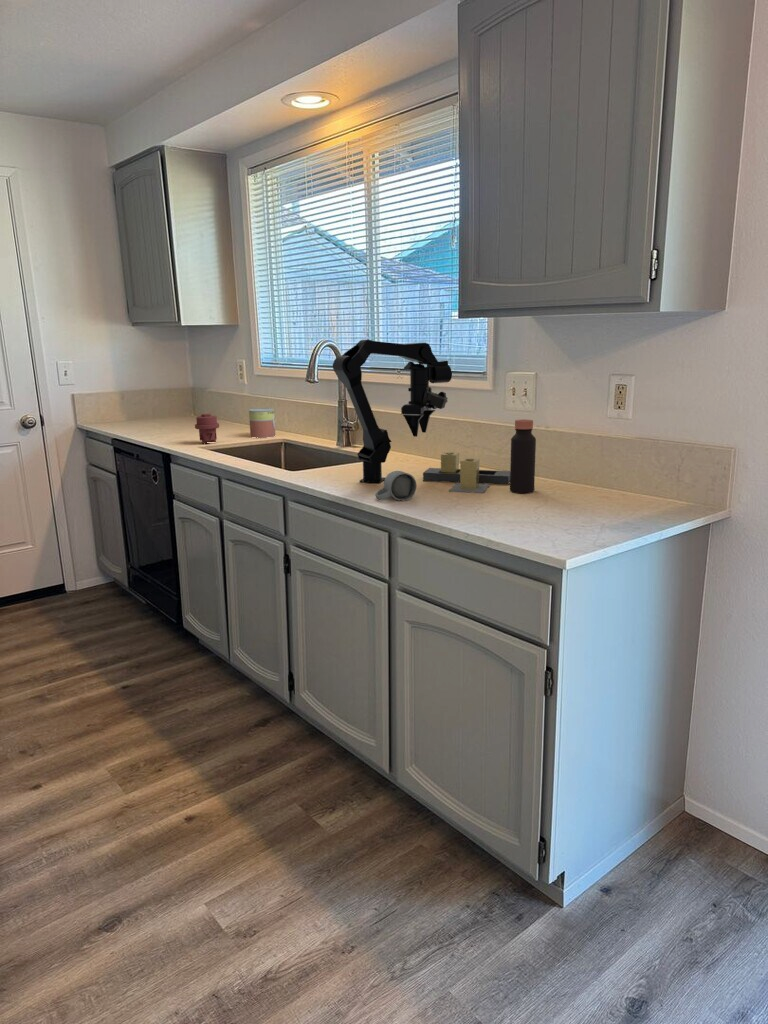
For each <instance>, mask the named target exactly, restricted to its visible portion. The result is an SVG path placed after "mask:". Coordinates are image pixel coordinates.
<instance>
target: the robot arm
mask: <svg viewBox="0 0 768 1024" xmlns="http://www.w3.org/2000/svg"><path fill="white" fill-rule="evenodd" d="M432 351H433V350H432V347H431V346H430V344H429V343H428V342H408V343H407V342H406V343H396V342H394V343H393V342H386V341H376V340H371V339H361V340H359V341H358V342H357V343H356V344H355V345H354V346H352V347H351V348H349V349H347V351H345V352H344V353H342V355H338V356H337V357H335V359H334V361H333V363H332V370H333V372H334V373H335V375H336V377H337V378H338V380H339V381H340V383H342V384H343V386H344V387H345V388H346V390H347V392H348V395H349V397H350V400H351V403H352V405H353V408H354V410H355V413H356V415H357V419H358V421H359V423H360V426H361V429H362V442H363V445H362V448H360V450H359V451H358V453H357V457H358V459H359V461H362V478H361V479H359V483H368V484H372V483H373V484H380V483H382V482H383V481H385V478H386V477H383V476H382V471H383V470H382V466H383V465H382V464H383V463H386V461H387V458H388V456H389V455H388V454H389V453H390V450H391V448H392V446H391V443H392V442H393V441H392V440H391V439H390V437H389V433H388V430H387V429H384V428H380V427H379V425H378V423H377V420H376V418H375V414H374V413H373V410H372V407H371V404H370V401H369V400H368V397H367V395H366V392H365V389H364V386H363V383H362V380H363V379H362V378H363V377H362V375H363V372H362V366H363V365H365V363H366V362H367V360H368V358H369V356H371V354H373V355H382V356H383V355H384V356H392V357H399V358H402V359H404V360H407V361H408V362H407V364H406V365H404V367H403V369H404V370H406V371H407V370H410V371H409V372H410V373H409V383H410V386H409V387H408V389H407V390H408V392H409V395H410V397H409V399H410V400H409V401H408V403H406V404H404V405H402V406H401V409H400V410H401V412H400V413H401V415H402V416H403V418H404V419H405V421H406V423H407V426H408V427H409V430H410V432H411V434H412V436H413V437H418V435H419V434H418V433H419V427H420V431H421V432H422V433H423V434H425V433H427V429H428V425H429V421H430V416H432V414H433V413H435V412H436V410H437V409H439V410H441V409H444V408H445V407H446V404H447V403H448V397H447V393H446V392H444V391H440V392H439V393H437V392H433V391H432V390H433V389H432V388H431V386H430V384H446V383H449V382H450V381H451V380H452V377H453V371H452V369H451V366H450V365H449V361H448V360H440V361H439V360H438V359H437V358H436V356H435V355H434V353H433V352H432ZM414 362H415V363H414ZM416 362H417V363H416ZM425 365H426V366H425Z"/></svg>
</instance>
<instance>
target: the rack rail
mask: <svg viewBox="0 0 768 1024" xmlns="http://www.w3.org/2000/svg"><path fill="white" fill-rule="evenodd" d="M425 480H426V481H425ZM422 481H424V482H441V481H449V482H448V483H460V468H459V473H441V467H439V468H438V467H429V468H427V469H426V470H424V471H423V472H422ZM509 482H510V470H494V469H493V470H492V469H479V484H485V483H494V484H493V485H507V484H508V483H509ZM509 484H510V483H509ZM509 484H508V485H509Z"/></svg>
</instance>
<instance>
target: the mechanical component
mask: <svg viewBox="0 0 768 1024" xmlns="http://www.w3.org/2000/svg"><path fill="white" fill-rule="evenodd" d="M217 417H218V416H216V415H212V414H211V413H203V414H202V413H201V415H200V416H198V415H197V416H196V419H195V420H196V424H194V428H195V429H196V430H198V432H199V433H198V435H199V440H200V441H201V444H202V443H207V442H216V443H217V440H218V439H217V429H219V428H220V423H219V422H218V419H217Z"/></svg>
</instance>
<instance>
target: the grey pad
mask: <svg viewBox="0 0 768 1024" xmlns="http://www.w3.org/2000/svg"><path fill="white" fill-rule="evenodd" d="M490 485H491V484H485V483H479V487H478V488H477V489H460V482H455V484H453V486H452V487H451V488H449V489H448V492H450V491H457V492H456V493H470V492H475V494H485V492H486V491H487V490H488V489H489V487H490ZM487 488H488V489H487Z"/></svg>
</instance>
